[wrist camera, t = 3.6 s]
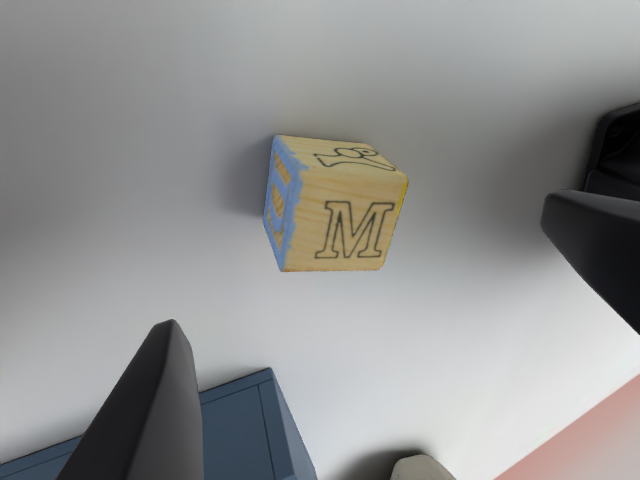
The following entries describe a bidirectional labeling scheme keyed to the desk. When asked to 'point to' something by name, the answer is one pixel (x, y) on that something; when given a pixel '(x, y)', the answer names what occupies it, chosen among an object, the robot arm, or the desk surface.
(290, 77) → the desk surface
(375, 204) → the alphabet block
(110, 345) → the desk surface
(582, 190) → the robot arm
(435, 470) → the ceramic sculpture
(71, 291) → the desk surface
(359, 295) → the desk surface
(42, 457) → the blue open box
